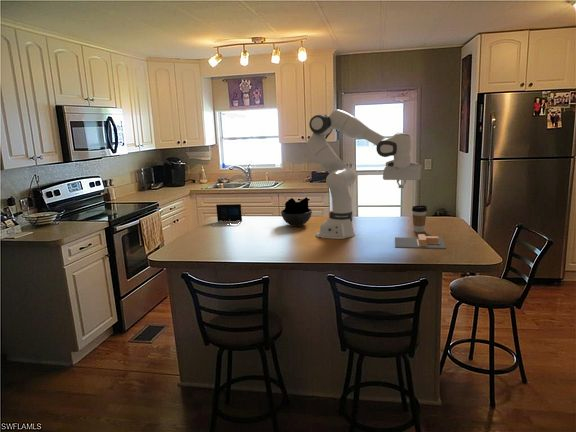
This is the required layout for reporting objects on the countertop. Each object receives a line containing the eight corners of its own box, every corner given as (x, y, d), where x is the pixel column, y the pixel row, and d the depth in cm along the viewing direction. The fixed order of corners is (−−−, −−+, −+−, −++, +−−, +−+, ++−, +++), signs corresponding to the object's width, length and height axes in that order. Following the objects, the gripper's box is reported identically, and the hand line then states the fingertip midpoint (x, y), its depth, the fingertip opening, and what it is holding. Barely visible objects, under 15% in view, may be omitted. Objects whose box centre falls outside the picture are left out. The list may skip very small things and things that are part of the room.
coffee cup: (427, 232, 245) (427, 207, 242) (412, 232, 247) (412, 207, 244) (425, 229, 253) (426, 204, 250) (411, 229, 255) (411, 204, 252)
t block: (419, 245, 221) (419, 239, 220) (417, 239, 231) (418, 234, 231) (439, 245, 218) (439, 240, 218) (437, 239, 229) (437, 234, 228)
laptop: (211, 226, 287) (210, 207, 284) (217, 222, 299) (216, 204, 296) (237, 226, 284) (235, 207, 281) (242, 222, 296) (241, 204, 293)
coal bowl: (276, 228, 272) (275, 200, 267) (288, 221, 289) (287, 194, 285) (306, 230, 264) (305, 200, 260) (316, 223, 282) (315, 195, 278)
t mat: (395, 247, 220) (395, 246, 220) (394, 238, 237) (394, 237, 237) (446, 248, 215) (446, 247, 214) (441, 239, 232) (441, 238, 232)
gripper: (421, 162, 232) (420, 187, 235) (383, 162, 237) (382, 186, 240) (422, 163, 226) (421, 189, 229) (383, 163, 231) (382, 188, 234)
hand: (401, 187), depth 234 cm, fingers closed
